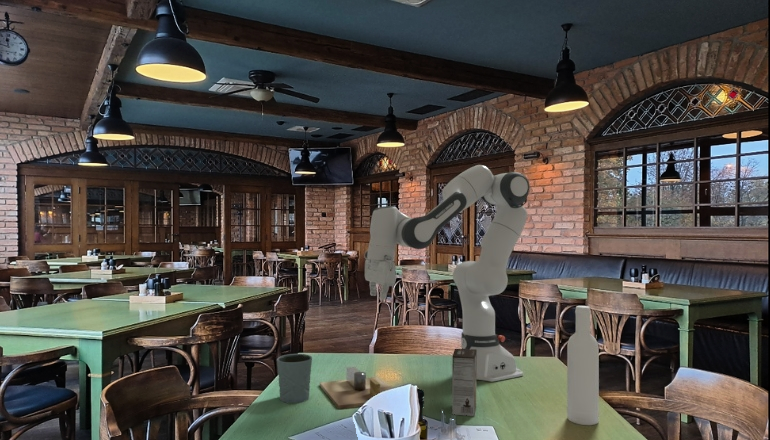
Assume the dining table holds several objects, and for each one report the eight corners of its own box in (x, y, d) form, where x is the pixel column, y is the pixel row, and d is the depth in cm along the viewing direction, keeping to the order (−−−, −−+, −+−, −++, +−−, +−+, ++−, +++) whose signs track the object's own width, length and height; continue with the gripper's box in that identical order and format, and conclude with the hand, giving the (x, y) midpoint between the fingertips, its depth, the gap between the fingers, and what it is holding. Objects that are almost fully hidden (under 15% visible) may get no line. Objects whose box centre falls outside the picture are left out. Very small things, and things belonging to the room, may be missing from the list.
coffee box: (454, 403, 150) (454, 347, 150) (476, 405, 149) (476, 349, 149) (451, 414, 141) (452, 355, 141) (475, 416, 140) (476, 356, 140)
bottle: (562, 415, 142) (562, 304, 142) (589, 414, 142) (589, 304, 143) (575, 426, 134) (575, 308, 134) (604, 425, 134) (604, 308, 135)
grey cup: (317, 395, 157) (317, 355, 157) (301, 406, 147) (301, 363, 147) (287, 391, 160) (287, 352, 160) (269, 401, 151) (270, 360, 151)
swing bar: (367, 389, 159) (367, 374, 159) (355, 390, 157) (356, 375, 157) (355, 378, 170) (356, 364, 170) (345, 380, 168) (345, 365, 168)
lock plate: (378, 379, 173) (378, 364, 173) (404, 401, 152) (405, 384, 152) (319, 385, 166) (319, 369, 167) (338, 409, 145) (338, 391, 145)
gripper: (402, 257, 162) (398, 301, 161) (380, 254, 181) (376, 294, 180) (383, 255, 160) (379, 301, 159) (362, 253, 179) (359, 293, 178)
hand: (377, 297), depth 170 cm, fingers open, 8 cm apart
